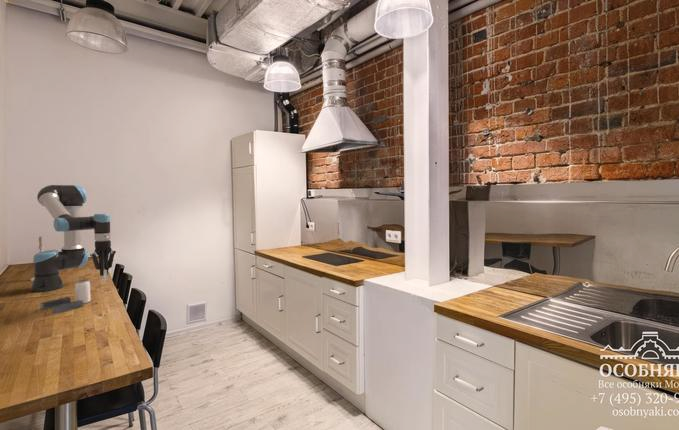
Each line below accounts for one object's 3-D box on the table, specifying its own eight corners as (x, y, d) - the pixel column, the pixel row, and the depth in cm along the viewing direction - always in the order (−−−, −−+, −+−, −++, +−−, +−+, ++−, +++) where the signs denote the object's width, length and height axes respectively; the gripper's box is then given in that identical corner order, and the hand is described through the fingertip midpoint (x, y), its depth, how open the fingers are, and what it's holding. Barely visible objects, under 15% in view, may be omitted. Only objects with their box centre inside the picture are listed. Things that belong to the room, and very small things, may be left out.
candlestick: (28, 278, 229) (26, 235, 227) (53, 275, 239) (51, 234, 237) (31, 282, 221) (29, 237, 219) (56, 278, 231) (54, 235, 229)
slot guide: (40, 308, 172) (40, 303, 172) (67, 302, 183) (67, 296, 183) (55, 313, 166) (55, 307, 166) (82, 306, 177) (82, 301, 176)
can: (93, 301, 185) (92, 280, 184) (80, 304, 179) (79, 283, 178) (86, 299, 188) (85, 278, 187) (73, 303, 182) (72, 281, 181)
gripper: (94, 242, 184) (95, 284, 185) (118, 239, 195) (119, 278, 197) (86, 241, 187) (88, 282, 188) (110, 238, 199) (112, 277, 200)
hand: (104, 280), depth 193 cm, fingers closed
